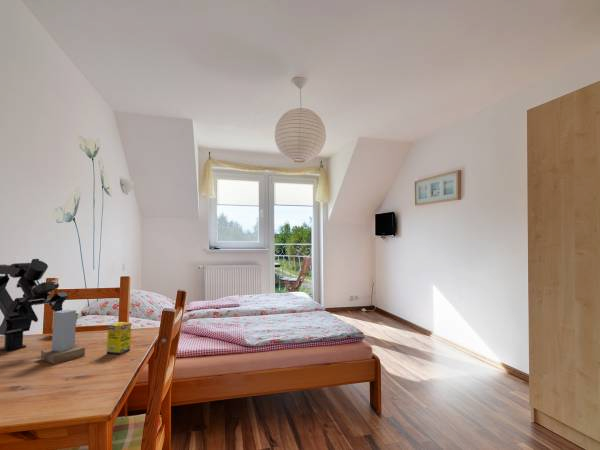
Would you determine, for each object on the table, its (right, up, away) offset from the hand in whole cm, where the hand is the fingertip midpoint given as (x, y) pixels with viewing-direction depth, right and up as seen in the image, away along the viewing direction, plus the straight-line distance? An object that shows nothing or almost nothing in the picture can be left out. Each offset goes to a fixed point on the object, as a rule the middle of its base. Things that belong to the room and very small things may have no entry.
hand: (49, 318), depth 127 cm
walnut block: (+8, -13, -4) cm, 16 cm away
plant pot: (-14, -16, +29) cm, 36 cm away
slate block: (+8, -10, -3) cm, 13 cm away
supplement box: (+25, -14, +3) cm, 29 cm away
